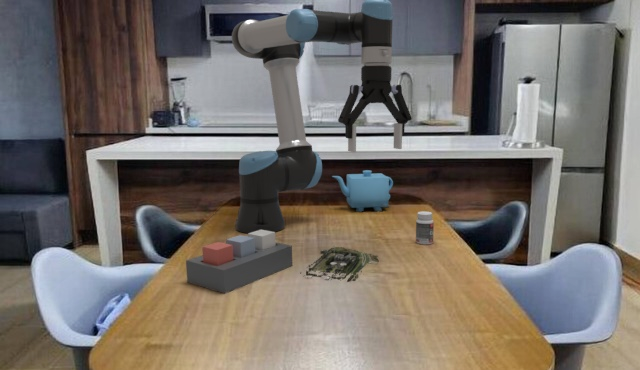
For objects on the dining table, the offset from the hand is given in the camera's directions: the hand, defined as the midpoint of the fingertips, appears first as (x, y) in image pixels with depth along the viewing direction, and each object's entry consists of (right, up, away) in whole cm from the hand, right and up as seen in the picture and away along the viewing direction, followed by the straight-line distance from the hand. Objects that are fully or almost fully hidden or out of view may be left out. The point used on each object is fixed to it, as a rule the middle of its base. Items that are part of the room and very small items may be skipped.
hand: (375, 150), depth 137 cm
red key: (-36, -26, -20) cm, 49 cm away
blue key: (-32, -25, -14) cm, 43 cm away
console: (-32, -29, -13) cm, 46 cm away
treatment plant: (-9, -29, -7) cm, 31 cm away
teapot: (+1, -18, +54) cm, 57 cm away
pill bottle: (+15, -25, +10) cm, 31 cm away
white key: (-28, -24, -9) cm, 38 cm away
